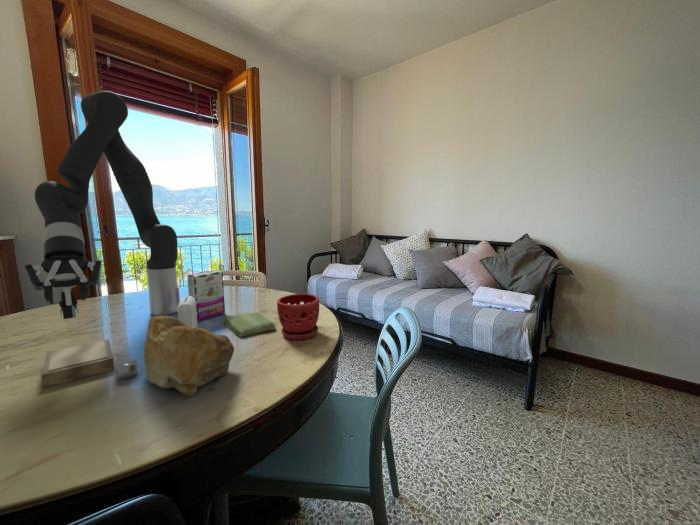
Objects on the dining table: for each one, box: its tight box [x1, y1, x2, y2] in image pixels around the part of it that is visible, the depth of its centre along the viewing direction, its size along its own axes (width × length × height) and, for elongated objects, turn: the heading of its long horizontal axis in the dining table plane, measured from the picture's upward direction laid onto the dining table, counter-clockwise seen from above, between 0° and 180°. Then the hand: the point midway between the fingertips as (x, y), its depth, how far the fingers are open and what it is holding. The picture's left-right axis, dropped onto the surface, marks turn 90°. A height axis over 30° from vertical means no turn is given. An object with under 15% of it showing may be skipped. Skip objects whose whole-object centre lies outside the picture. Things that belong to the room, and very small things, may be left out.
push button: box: [49, 273, 81, 320], centre depth 70 cm, size 7×5×10 cm
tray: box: [41, 339, 115, 389], centre depth 73 cm, size 12×14×3 cm
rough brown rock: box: [143, 315, 235, 397], centre depth 68 cm, size 23×17×15 cm
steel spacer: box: [114, 359, 139, 381], centre depth 69 cm, size 4×4×3 cm
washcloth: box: [223, 311, 276, 338], centre depth 101 cm, size 13×18×3 cm
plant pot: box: [276, 293, 320, 341], centre depth 94 cm, size 13×13×12 cm
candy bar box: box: [186, 270, 226, 323], centre depth 109 cm, size 11×5×16 cm, turn 148°
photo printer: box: [177, 295, 199, 328], centre depth 91 cm, size 10×4×12 cm, turn 20°
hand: (67, 300), depth 69 cm, fingers closed on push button, 4 cm apart
